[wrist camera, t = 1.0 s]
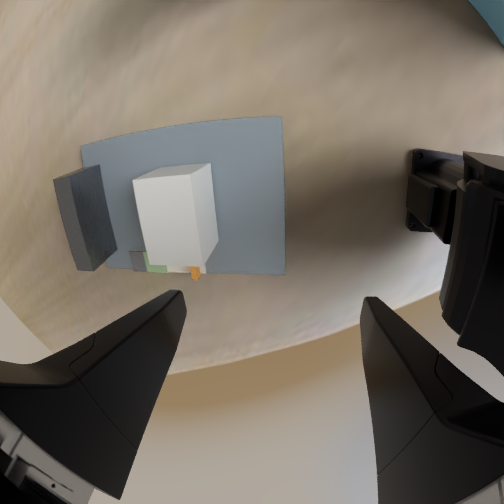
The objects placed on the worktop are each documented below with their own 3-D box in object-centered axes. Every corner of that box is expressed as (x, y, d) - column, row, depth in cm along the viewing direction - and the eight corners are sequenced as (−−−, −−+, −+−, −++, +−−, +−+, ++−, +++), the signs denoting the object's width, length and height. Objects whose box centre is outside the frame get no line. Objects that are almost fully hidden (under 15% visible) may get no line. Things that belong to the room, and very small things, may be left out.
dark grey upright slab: (99, 164, 20) (68, 176, 17) (117, 249, 24) (93, 271, 20) (83, 167, 20) (53, 179, 17) (102, 249, 24) (77, 270, 20)
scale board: (281, 116, 18) (280, 116, 16) (285, 267, 23) (284, 277, 22) (88, 143, 21) (77, 146, 19) (113, 261, 26) (105, 269, 25)
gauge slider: (210, 162, 19) (190, 174, 15) (222, 273, 23) (209, 302, 19) (160, 167, 19) (132, 180, 16) (177, 271, 23) (158, 298, 20)
